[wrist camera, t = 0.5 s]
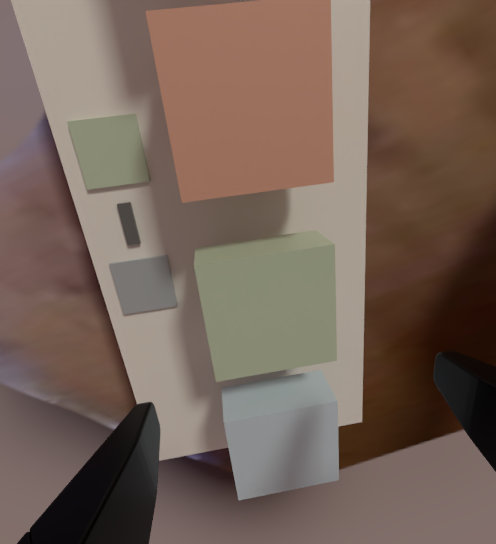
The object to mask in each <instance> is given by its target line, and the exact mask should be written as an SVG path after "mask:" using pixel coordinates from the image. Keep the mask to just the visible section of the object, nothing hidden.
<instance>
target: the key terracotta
mask: <svg viewBox="0 0 496 544" xmlns="http://www.w3.org/2000/svg"><path fill="white" fill-rule="evenodd" d="M145 12H146V17H147V22H148V28H149V33H150V38H151V43H152V49H153V54H154V59H155V64H156V70H157V75H158V80H159V85H160V91H161V96H162V101H163V106H164V112H165V117H166V122H167V127H168V133H169V138H170V143H171V148H172V154H173V159H174V164H175V170H176V175H177V180H178V185H179V191H180V196H181V201H182V203H185V202H192V201H199V200H207V199H214V198H221V197H229V196H236V195H243V194H251V193H258V192H266V191H273V190H280V189H288V188H295V187H302V186H310V185H317V184H324V183H332V182H334V157H333V99H332V40H331V0H258V1H247V2H237V3H226V4H215V5H204V6H194V7H183V8H172V9H162V10H151V11H145Z"/></svg>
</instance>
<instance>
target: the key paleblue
mask: <svg viewBox="0 0 496 544" xmlns="http://www.w3.org/2000/svg"><path fill="white" fill-rule="evenodd" d="M221 389H222V405H223V420H224V427H225V432H226V437H227V443H228V448H229V453H230V458H231V464H232V469H233V474H234V479H235V485H236V490H237V495H238V500H243V499H249V498H254V497H258V496H263V495H268V494H273V493H278V492H282V491H288V490H292V489H297V488H302V487H307V486H312V485H317V484H322V483H327V482H332V481H337V480H339V451H338V401H337V399H336V397H335V395H334V393H333V391H332V389H331V387H330V386H329V384H328V382H327V380H326V378H325V376H324V374H323V372H322V370H318V371H312V372H306V373H301V374H295V375H290V376H284V377H278V378H273V379H267V380H262V381H256V382H250V383H245V384H239V385H234V386H228V387H222V388H221Z"/></svg>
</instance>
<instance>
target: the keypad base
mask: <svg viewBox="0 0 496 544" xmlns="http://www.w3.org/2000/svg"><path fill="white" fill-rule="evenodd" d="M247 1H258V0H11V3H12V6H13V9H14V12H15V15H16V19H17V22H18V25H19V28H20V31H21V35H22V38H23V41H24V44H25V48H26V50H27V54H28V57H29V60H30V63H31V66H32V70H33V73H34V76H35V79H36V83H37V86H38V89H39V92H40V95H41V98H42V102H43V105H44V108H45V111H46V115H47V118H48V121H49V124H50V127H51V131H52V134H53V137H54V140H55V143H56V147H57V150H58V153H59V156H60V159H61V163H62V166H63V169H64V172H65V175H66V179H67V182H68V185H69V188H70V191H71V195H72V198H73V201H74V204H75V207H76V211H77V214H78V217H79V220H80V223H81V227H82V230H83V233H84V236H85V239H86V242H87V246H88V249H89V252H90V255H91V258H92V262H93V265H94V268H95V271H96V274H97V278H98V281H99V284H100V287H101V290H102V294H103V297H104V300H105V303H106V306H107V310H108V313H109V316H110V319H111V322H112V326H113V329H114V332H115V335H116V338H117V342H118V345H119V348H120V351H121V354H122V358H123V361H124V364H125V367H126V370H127V374H128V377H129V380H130V383H131V386H132V390H133V393H134V396H135V399H136V402H137V404H139V403H145V402H152V403H153V404H154V406H155V409H156V413H157V416H158V420H159V423H160V432H161V433H160V450H159V461H161V460H166V459H171V458H176V457H182V456H187V455H192V454H197V453H202V452H208V451H213V450H218V449H223V448H228V443H227V437H226V432H225V427H224V420H223V405H222V389H221V388H222V387H228V386H234V385H239V384H245V383H250V382H256V381H262V380H267V379H273V378H278V377H284V376H290V375H295V374H301V373H306V372H312V371H318V370H322V372H323V374H324V376H325V378H326V380H327V382H328V384H329V386H330V387H331V389H332V391H333V393H334V395H335V397H336V399H337V401H338V426H343V425H348V424H354V423H359V422H362V397H363V346H364V294H365V243H366V191H367V139H368V88H369V36H370V0H331V40H332V99H333V157H334V182H332V183H324V184H317V185H310V186H302V187H295V188H288V189H280V190H273V191H266V192H258V193H251V194H243V195H236V196H229V197H221V198H214V199H207V200H199V201H192V202H185V203H182V201H181V196H180V191H179V185H178V180H177V175H176V170H175V164H174V159H173V154H172V148H171V143H170V138H169V133H168V127H167V122H166V117H165V112H164V106H163V101H162V96H161V91H160V85H159V80H158V75H157V70H156V64H155V59H154V54H153V49H152V43H151V38H150V33H149V28H148V22H147V17H146V12H145V11H151V10H162V9H172V8H183V7H194V6H204V5H215V4H226V3H237V2H247ZM314 230H316V231H318V232H319V233H320V234H322V235H323V236H324V237H326V238H327V239H328V240H330V241H331V242H332V243H334V244H335V275H336V334H337V361H332V362H327V363H321V364H315V365H310V366H304V367H298V368H293V369H287V370H281V371H276V372H270V373H264V374H259V375H253V376H247V377H242V378H236V379H230V380H225V381H219V382H216V380H215V374H214V369H213V364H212V359H211V353H210V348H209V343H208V338H207V332H206V327H205V322H204V317H203V311H202V306H201V301H200V296H199V290H198V285H197V280H196V275H195V269H194V259H195V249H196V248H198V247H204V246H211V245H218V244H225V243H232V242H239V241H245V240H252V239H259V238H266V237H273V236H280V235H286V234H293V233H300V232H307V231H314Z"/></svg>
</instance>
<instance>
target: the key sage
mask: <svg viewBox="0 0 496 544" xmlns="http://www.w3.org/2000/svg"><path fill="white" fill-rule="evenodd" d="M194 269H195V275H196V280H197V285H198V290H199V296H200V301H201V306H202V311H203V317H204V322H205V327H206V332H207V338H208V343H209V348H210V353H211V359H212V364H213V369H214V374H215V380H216V382H219V381H225V380H230V379H236V378H242V377H247V376H253V375H259V374H264V373H270V372H276V371H281V370H287V369H293V368H298V367H304V366H310V365H315V364H321V363H327V362H332V361H337V334H336V275H335V244H334V243H332V242H331V241H330V240H328V239H327V238H326V237H324V236H323V235H322V234H320V233H319V232H318V231H316V230H314V231H307V232H300V233H293V234H286V235H280V236H273V237H266V238H259V239H252V240H245V241H239V242H232V243H225V244H218V245H211V246H204V247H198V248H196V249H195V259H194Z"/></svg>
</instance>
